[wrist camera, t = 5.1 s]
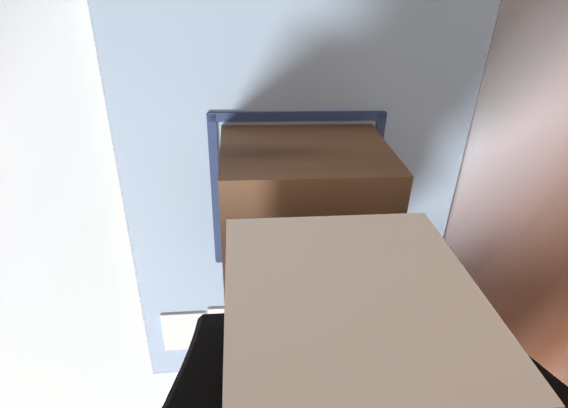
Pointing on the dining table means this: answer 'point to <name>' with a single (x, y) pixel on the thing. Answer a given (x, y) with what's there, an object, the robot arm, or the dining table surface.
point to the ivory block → (363, 320)
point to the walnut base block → (308, 173)
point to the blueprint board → (269, 115)
